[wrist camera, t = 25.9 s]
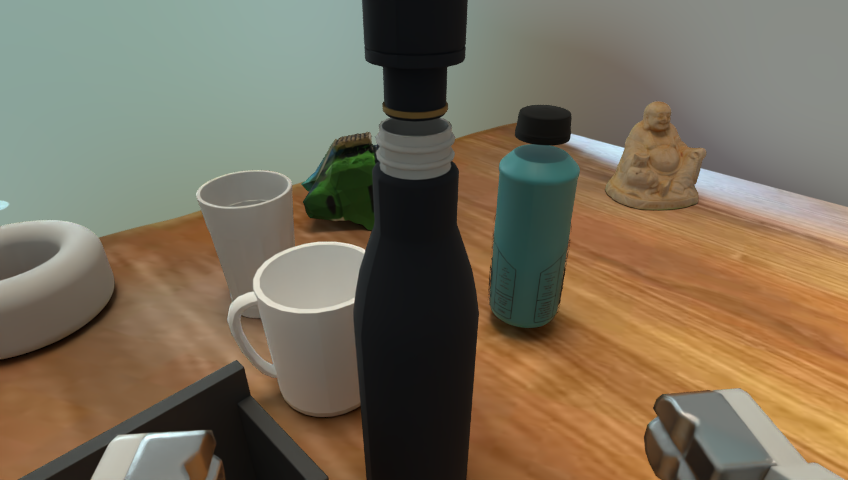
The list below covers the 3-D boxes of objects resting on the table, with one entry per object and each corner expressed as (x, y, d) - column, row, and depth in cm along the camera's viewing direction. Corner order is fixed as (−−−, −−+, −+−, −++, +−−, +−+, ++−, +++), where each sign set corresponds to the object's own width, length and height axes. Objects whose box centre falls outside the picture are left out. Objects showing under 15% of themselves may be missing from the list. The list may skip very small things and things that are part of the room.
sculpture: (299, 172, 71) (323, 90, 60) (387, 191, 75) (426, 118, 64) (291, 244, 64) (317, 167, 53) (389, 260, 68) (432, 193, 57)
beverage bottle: (565, 340, 45) (607, 121, 35) (492, 344, 45) (513, 123, 35) (544, 297, 51) (575, 96, 41) (479, 300, 50) (494, 98, 40)
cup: (264, 267, 55) (245, 164, 49) (323, 288, 52) (310, 180, 46) (205, 307, 49) (175, 195, 43) (267, 334, 46) (244, 216, 40)
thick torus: (145, 305, 49) (125, 247, 46) (-48, 398, 39) (-92, 331, 36) (82, 253, 57) (61, 200, 54) (-92, 319, 47) (-131, 259, 44)
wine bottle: (486, 496, 33) (544, -35, 17) (402, 557, 29) (385, -31, 14) (427, 429, 37) (433, -40, 22) (349, 475, 34) (293, -38, 19)
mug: (365, 330, 46) (358, 232, 41) (402, 400, 39) (400, 292, 34) (240, 366, 42) (215, 262, 37) (256, 450, 35) (228, 337, 30)
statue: (670, 101, 75) (720, 97, 65) (665, 195, 78) (712, 205, 68) (593, 105, 73) (633, 102, 63) (591, 202, 76) (629, 213, 66)
